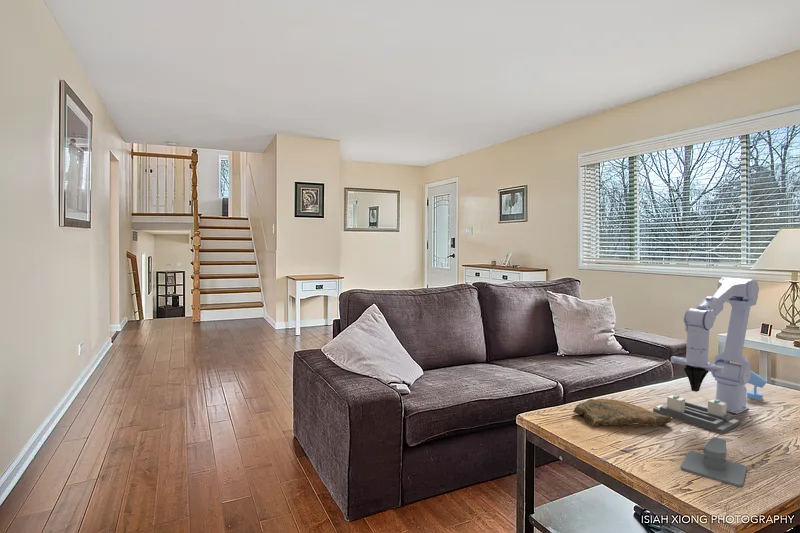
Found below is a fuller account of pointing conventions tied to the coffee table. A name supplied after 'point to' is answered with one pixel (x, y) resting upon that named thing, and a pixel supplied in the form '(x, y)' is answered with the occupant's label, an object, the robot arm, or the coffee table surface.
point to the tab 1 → (676, 403)
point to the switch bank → (700, 417)
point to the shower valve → (715, 464)
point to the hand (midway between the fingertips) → (695, 390)
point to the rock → (618, 413)
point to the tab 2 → (717, 407)
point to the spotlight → (758, 382)
